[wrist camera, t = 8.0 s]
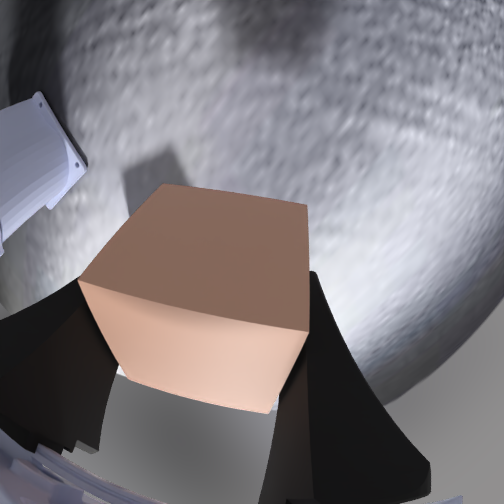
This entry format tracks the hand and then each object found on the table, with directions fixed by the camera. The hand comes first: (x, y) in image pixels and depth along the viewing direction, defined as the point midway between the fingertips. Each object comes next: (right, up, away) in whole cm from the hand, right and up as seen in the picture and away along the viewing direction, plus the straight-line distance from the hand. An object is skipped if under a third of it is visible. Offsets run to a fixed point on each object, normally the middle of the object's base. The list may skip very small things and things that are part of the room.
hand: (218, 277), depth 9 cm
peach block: (0, +1, +1) cm, 1 cm away
